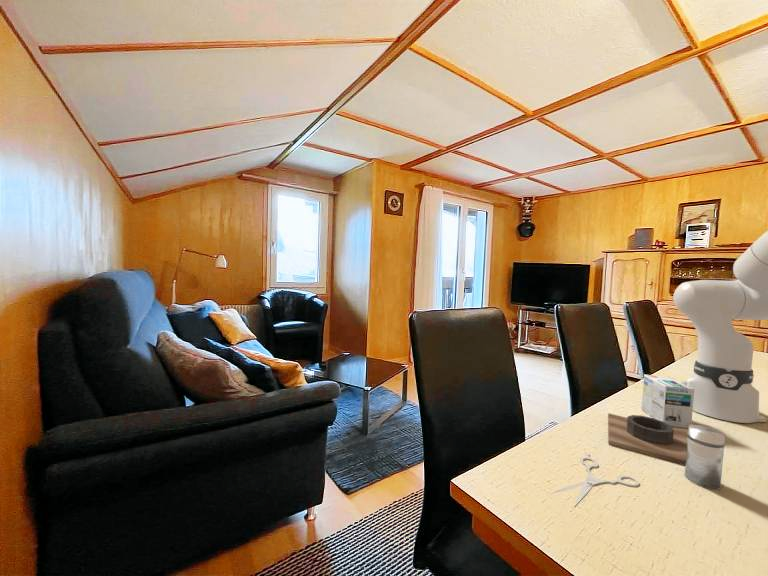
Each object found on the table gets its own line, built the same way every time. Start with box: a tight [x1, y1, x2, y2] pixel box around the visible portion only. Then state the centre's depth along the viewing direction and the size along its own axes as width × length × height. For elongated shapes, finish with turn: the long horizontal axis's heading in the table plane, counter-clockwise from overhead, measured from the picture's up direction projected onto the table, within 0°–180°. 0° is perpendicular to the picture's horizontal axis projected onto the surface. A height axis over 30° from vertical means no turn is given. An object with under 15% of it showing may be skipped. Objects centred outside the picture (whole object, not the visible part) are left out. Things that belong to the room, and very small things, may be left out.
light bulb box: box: [640, 374, 694, 429], centre depth 91 cm, size 11×7×11 cm, turn 168°
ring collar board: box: [607, 412, 688, 466], centre depth 79 cm, size 18×16×4 cm
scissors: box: [550, 452, 640, 508], centre depth 62 cm, size 11×1×20 cm
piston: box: [684, 424, 726, 490], centre depth 63 cm, size 5×5×10 cm
